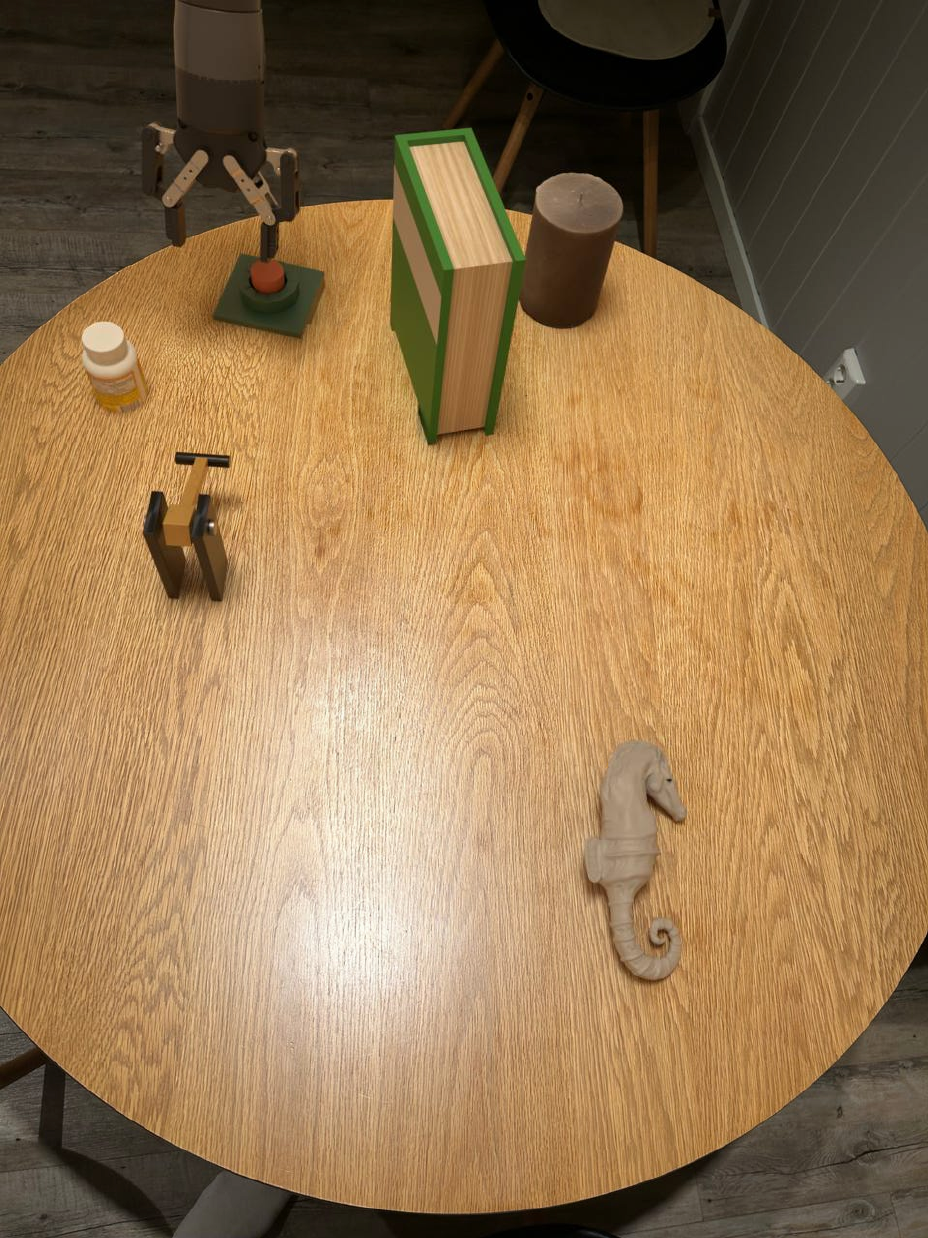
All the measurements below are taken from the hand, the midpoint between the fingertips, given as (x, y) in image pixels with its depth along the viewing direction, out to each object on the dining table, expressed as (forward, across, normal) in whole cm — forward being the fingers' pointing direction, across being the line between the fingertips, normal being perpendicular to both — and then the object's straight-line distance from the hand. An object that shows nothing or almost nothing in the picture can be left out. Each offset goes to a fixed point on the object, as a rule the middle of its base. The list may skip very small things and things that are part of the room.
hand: (223, 252), depth 91 cm
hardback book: (+13, +22, +7) cm, 27 cm away
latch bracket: (+24, +3, -21) cm, 33 cm away
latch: (+15, +3, -21) cm, 26 cm away
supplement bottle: (+17, -10, -2) cm, 20 cm away
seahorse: (+32, +47, -40) cm, 69 cm away
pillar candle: (+7, +34, +21) cm, 41 cm away
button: (+7, +2, +12) cm, 14 cm away
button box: (+10, +2, +13) cm, 17 cm away
